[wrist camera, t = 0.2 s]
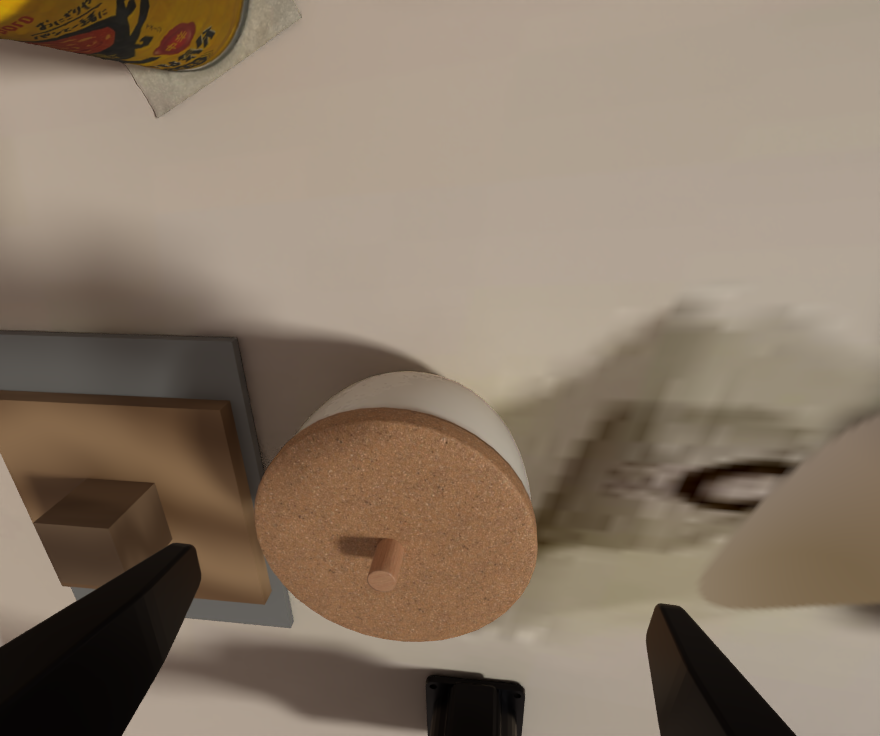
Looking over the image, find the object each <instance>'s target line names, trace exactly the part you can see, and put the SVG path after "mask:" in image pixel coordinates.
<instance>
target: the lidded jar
mask: <svg viewBox="0 0 880 736" xmlns="http://www.w3.org/2000/svg"><path fill="white" fill-rule="evenodd" d="M254 521H255V527H256V533H257V539H258V541H259V544H260V546H261V549H262V552H263V554H264V556H265V558H266V560H267V562H268V564H269V566H270V568H271V569H272V571H273V572H274V573H275V575H276V576H277V577H278V579H279V580H280V581H281V582H282V584H283V585H284V586H285V587H286V588H287V589H288V590H289V591H290V592H291V593H292V594H293V595H294V596H295V597H296V598H297V599H299V600H300V601H301V602H302V603H304V604H305V605H306V606H308V607H309V608H310V609H312V610H313V611H315V612H316V613H318V614H320V615H321V616H323V617H324V618H326V619H328V620H330V621H332V622H334V623H336V624H339V625H341V626H343V627H345V628H348V629H351V630H353V631H356V632H359V633H362V634H365V635H369V636H374V637H378V638H382V639H389V640H396V641H411V642H424V641H436V640H444V639H448V638H453V637H457V636H461V635H464V634H467V633H470V632H473V631H476V630H478V629H480V628H482V627H483V626H485V625H487V624H489V623H491V622H493V621H494V620H495V619H497V618H498V617H500V616H501V615H502V614H504V613H505V612H506V611H507V610H508V609H509V608H510V607H511V606H512V605H513V604H514V603H515V602H516V601H517V600H518V599H519V598H520V596H521V595H522V593H523V592H524V590H525V588H526V587H527V585H528V584H529V582H530V579H531V576H532V574H533V571H534V568H535V564H536V558H537V551H538V546H537V529H536V519H535V515H534V511H533V508H532V504H531V496H530V489H529V482H528V478H527V475H526V471H525V467H524V464H523V460H522V457H521V453H520V451H519V449H518V447H517V445H516V443H515V441H514V439H513V437H512V435H511V432H510V430H509V429H508V427H507V426H506V424H505V423H504V421H503V420H502V419H501V417H500V416H499V415H498V414H497V413H496V412H495V411H494V410H493V408H492V407H491V406H490V405H489V404H488V403H487V402H486V401H485V400H484V399H482V398H481V397H480V396H478V395H477V394H476V393H474V392H473V391H472V390H470V389H469V388H467V387H465V386H463V385H461V384H459V383H458V382H456V381H453V380H450V379H448V378H445V377H442V376H439V375H434V374H430V373H425V372H415V371H400V372H390V373H385V374H381V375H376V376H372V377H369V378H366V379H364V380H361V381H359V382H356V383H354V384H352V385H350V386H349V387H347V388H345V389H344V390H342V391H341V392H339V393H337V394H336V395H334V396H333V397H331V398H330V399H329V400H328V401H327V402H326V403H324V404H323V405H322V406H321V407H320V408H319V409H318V410H317V411H316V412H314V413H313V414H312V415H311V416H310V417H309V418H308V419H307V421H306V422H305V423H304V424H303V426H302V427H301V428H300V429H299V431H298V432H297V433H296V434H295V436H294V437H293V438H292V439H291V440H290V441H288V442H287V443H286V444H285V445H284V446H283V448H282V449H281V450H280V452H279V453H278V454H277V456H276V457H275V458H274V459H273V461H272V462H271V463H270V465H269V466H268V468H267V469H266V471H265V473H264V475H263V477H262V479H261V481H260V483H259V486H258V490H257V494H256V498H255V505H254Z"/></svg>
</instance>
